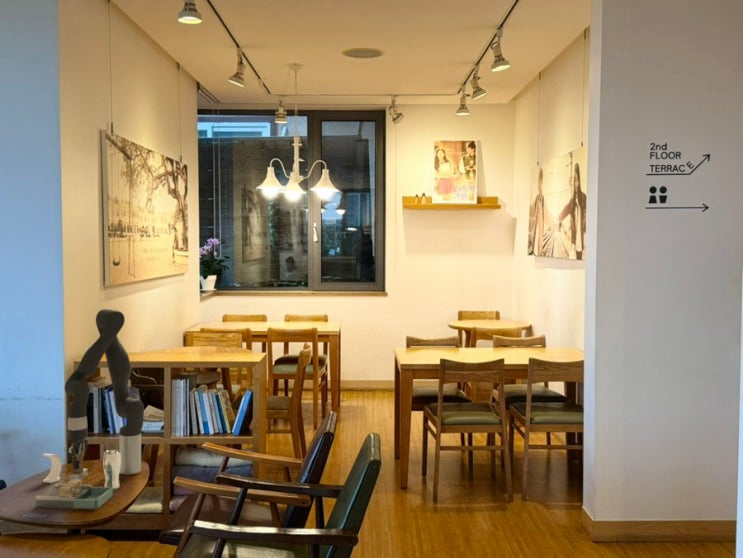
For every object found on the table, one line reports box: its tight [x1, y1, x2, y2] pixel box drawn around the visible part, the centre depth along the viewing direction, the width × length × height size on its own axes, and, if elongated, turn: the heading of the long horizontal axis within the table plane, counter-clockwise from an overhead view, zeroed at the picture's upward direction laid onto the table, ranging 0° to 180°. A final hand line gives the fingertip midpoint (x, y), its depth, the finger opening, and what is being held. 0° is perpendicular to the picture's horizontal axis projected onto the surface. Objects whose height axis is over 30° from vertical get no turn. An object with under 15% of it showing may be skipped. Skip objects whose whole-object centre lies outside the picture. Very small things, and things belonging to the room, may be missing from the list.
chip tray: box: [74, 486, 114, 511], centre depth 272 cm, size 15×9×4 cm, turn 177°
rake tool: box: [67, 450, 89, 483], centre depth 289 cm, size 11×3×12 cm, turn 177°
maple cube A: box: [66, 479, 83, 493], centre depth 276 cm, size 4×4×4 cm
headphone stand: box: [42, 453, 63, 484], centre depth 297 cm, size 5×6×12 cm
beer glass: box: [103, 449, 121, 490], centre depth 290 cm, size 7×7×15 cm
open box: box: [35, 483, 93, 510], centre depth 273 cm, size 15×15×4 cm
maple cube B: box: [59, 483, 74, 497], centre depth 270 cm, size 4×4×4 cm
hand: (78, 467), depth 289 cm, fingers closed on rake tool, 3 cm apart
